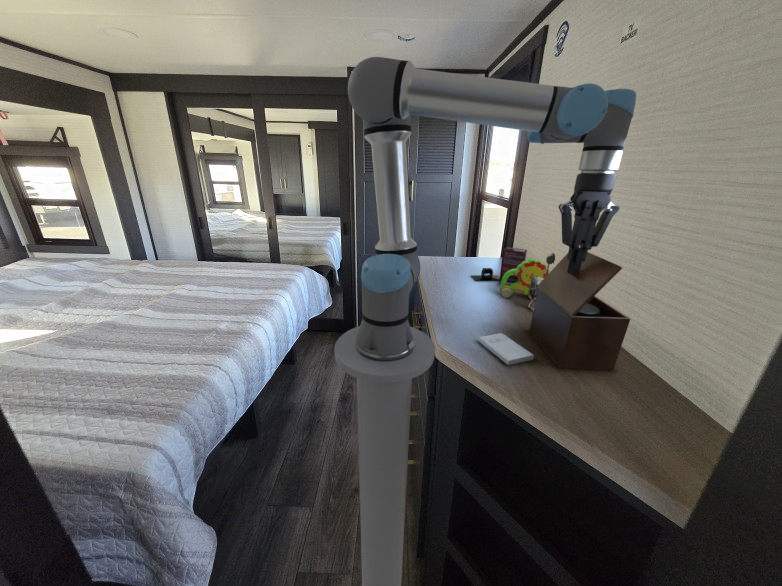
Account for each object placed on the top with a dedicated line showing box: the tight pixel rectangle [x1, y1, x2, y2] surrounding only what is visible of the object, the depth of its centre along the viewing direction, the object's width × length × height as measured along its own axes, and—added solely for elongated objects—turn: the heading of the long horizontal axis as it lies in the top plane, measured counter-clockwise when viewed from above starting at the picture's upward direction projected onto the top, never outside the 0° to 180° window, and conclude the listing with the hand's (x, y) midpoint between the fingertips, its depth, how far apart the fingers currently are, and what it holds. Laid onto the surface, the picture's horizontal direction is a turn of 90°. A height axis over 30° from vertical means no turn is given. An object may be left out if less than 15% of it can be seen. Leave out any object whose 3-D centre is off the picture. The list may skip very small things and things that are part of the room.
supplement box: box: [498, 246, 528, 287], centre depth 129 cm, size 9×5×16 cm, turn 59°
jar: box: [575, 303, 600, 317], centre depth 83 cm, size 9×8×12 cm
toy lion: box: [499, 258, 550, 301], centre depth 118 cm, size 16×5×15 cm, turn 81°
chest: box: [529, 288, 631, 371], centre depth 83 cm, size 13×19×14 cm
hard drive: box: [477, 332, 535, 366], centre depth 84 cm, size 2×8×12 cm
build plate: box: [470, 267, 500, 282], centre depth 140 cm, size 12×7×5 cm, turn 95°
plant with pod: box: [527, 252, 556, 312], centre depth 106 cm, size 8×11×20 cm
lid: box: [538, 251, 623, 316], centre depth 78 cm, size 14×19×1 cm
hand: (572, 273), depth 78 cm, fingers closed
